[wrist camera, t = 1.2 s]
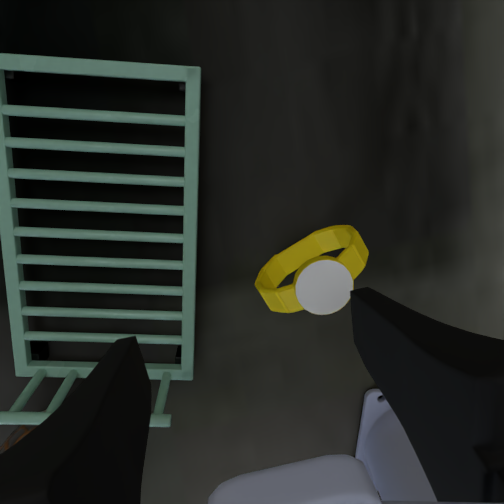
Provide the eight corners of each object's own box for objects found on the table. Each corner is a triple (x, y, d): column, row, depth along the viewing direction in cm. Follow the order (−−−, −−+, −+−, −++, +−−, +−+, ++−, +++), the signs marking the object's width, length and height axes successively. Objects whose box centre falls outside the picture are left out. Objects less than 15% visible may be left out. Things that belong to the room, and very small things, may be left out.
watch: (268, 295, 27) (279, 344, 22) (245, 257, 27) (250, 298, 21) (357, 245, 27) (392, 282, 21) (335, 205, 26) (366, 232, 20)
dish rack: (202, 70, 23) (194, 57, 17) (195, 361, 28) (186, 430, 22) (1, 56, 23) (-82, 37, 17) (30, 357, 28) (-25, 427, 22)
